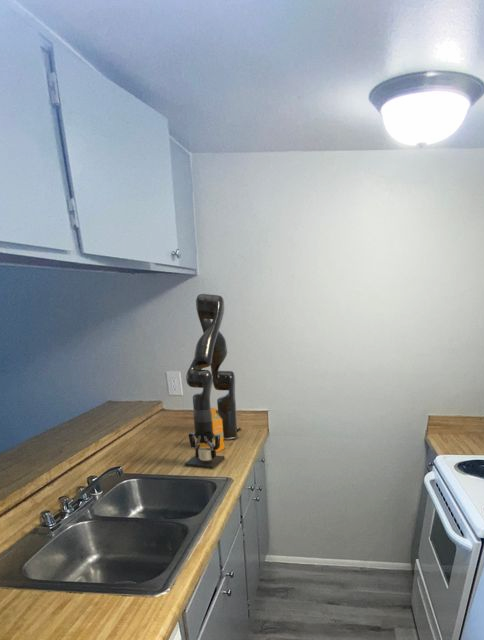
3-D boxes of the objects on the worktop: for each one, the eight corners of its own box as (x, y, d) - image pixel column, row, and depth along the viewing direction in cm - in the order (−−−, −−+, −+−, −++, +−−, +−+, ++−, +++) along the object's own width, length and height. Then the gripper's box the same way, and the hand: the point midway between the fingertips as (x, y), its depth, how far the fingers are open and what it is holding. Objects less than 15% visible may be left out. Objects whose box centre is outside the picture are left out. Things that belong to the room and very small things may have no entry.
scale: (199, 456, 219) (198, 450, 218) (225, 458, 216) (224, 452, 215) (185, 466, 207) (184, 459, 205) (212, 469, 204) (211, 462, 202)
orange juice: (209, 445, 233) (206, 404, 224) (224, 448, 230) (221, 407, 220) (199, 450, 227) (196, 408, 218) (214, 452, 224) (211, 410, 214)
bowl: (202, 456, 210) (201, 446, 208) (215, 457, 209) (214, 447, 206) (196, 460, 205) (195, 450, 203) (209, 461, 203) (209, 451, 201)
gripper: (222, 418, 200) (224, 456, 208) (191, 416, 203) (194, 453, 211) (215, 422, 194) (217, 461, 202) (183, 420, 197) (187, 458, 205)
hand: (206, 457), depth 206 cm, fingers closed on bowl, 6 cm apart
